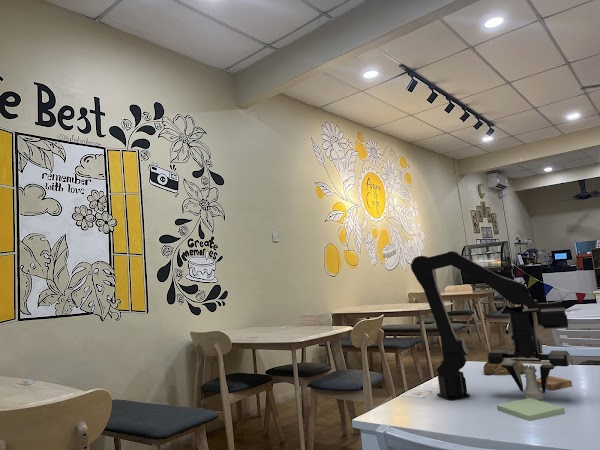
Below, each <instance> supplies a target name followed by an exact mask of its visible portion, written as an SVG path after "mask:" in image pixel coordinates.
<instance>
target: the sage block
mask: <svg viewBox="0 0 600 450" xmlns="http://www.w3.org/2000/svg"><path fill="white" fill-rule="evenodd" d="M496 409H497V411H499V412H502V413H505V414H508V415H511V416H514V417H516V418H520V419H522V420H525V421H528V422H532V421H536V420H542V419H545V418H550V417H555V416H560V415H564V414H566V413H565V411H566V410H565V407H563V406H559V405H556V404H552V403H549V402H546V401H543V400H535V399H532V398H527V399H526V398H523V399H518V400H514V401H509V402H506V403H505V402H504V403H500V404H496Z"/></svg>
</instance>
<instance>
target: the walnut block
mask: <svg viewBox="0 0 600 450" xmlns="http://www.w3.org/2000/svg"><path fill="white" fill-rule="evenodd" d="M536 380H537V384H538V386H539V388H540V389H542V385H541V377H539V378H536ZM570 387H571V388H572V387H573V382H572V380H571V379H567V378H563V377H556V376H552V375H549V376H548V381H547V386H546V390H548V391H556V390H557V391H558V390H562V389H566V388H570Z"/></svg>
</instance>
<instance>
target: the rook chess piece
mask: <svg viewBox="0 0 600 450" xmlns="http://www.w3.org/2000/svg"><path fill="white" fill-rule="evenodd" d="M523 371H524V372H525V373H524V374H525V375H524V377H525V384H526V385H525V388H524V389H525V390H523V394H525V395H524V399H527V398H532V399H535V400H539V401H543V399H544V395H543V394H544V393H543V391H542V389H541V388H540V387H539V386H538V384H537V380H536V379H537V377H538V376H537V375H536V373H537V368H536V367H535V365H530V364H529V366H528V365H524V369H523Z"/></svg>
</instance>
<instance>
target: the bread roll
mask: <svg viewBox="0 0 600 450" xmlns="http://www.w3.org/2000/svg"><path fill="white" fill-rule="evenodd" d="M518 364H519V371H520V376H522V375H524V374H525V372H524V371H523V369H524V366H525V365H524V364H523V363H522V361H518ZM483 365H484V366H483V370H482V371H483V373H484V375H489V376H494V375H495V376H511V374H510V373H509V372H508V370H507V369H506V368H503V367H502V365H503V363H501V364H489V363H488V360H486V362H485V364H483Z"/></svg>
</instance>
